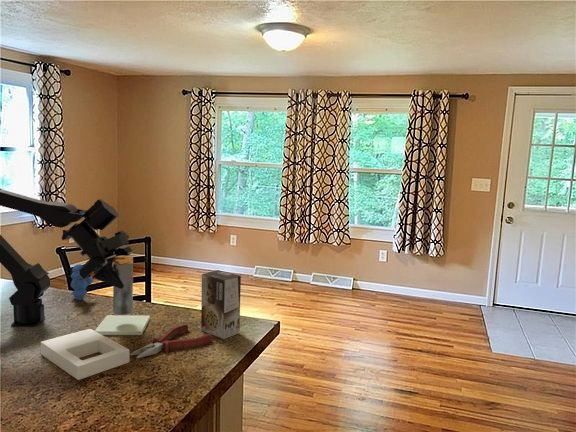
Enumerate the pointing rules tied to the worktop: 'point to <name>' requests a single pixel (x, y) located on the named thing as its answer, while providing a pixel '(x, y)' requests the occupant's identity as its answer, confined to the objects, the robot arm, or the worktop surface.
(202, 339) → the pliers
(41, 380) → the worktop surface
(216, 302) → the coffee box
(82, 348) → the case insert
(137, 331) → the mat
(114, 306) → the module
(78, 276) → the grapes
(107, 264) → the robot arm
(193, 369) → the worktop surface
